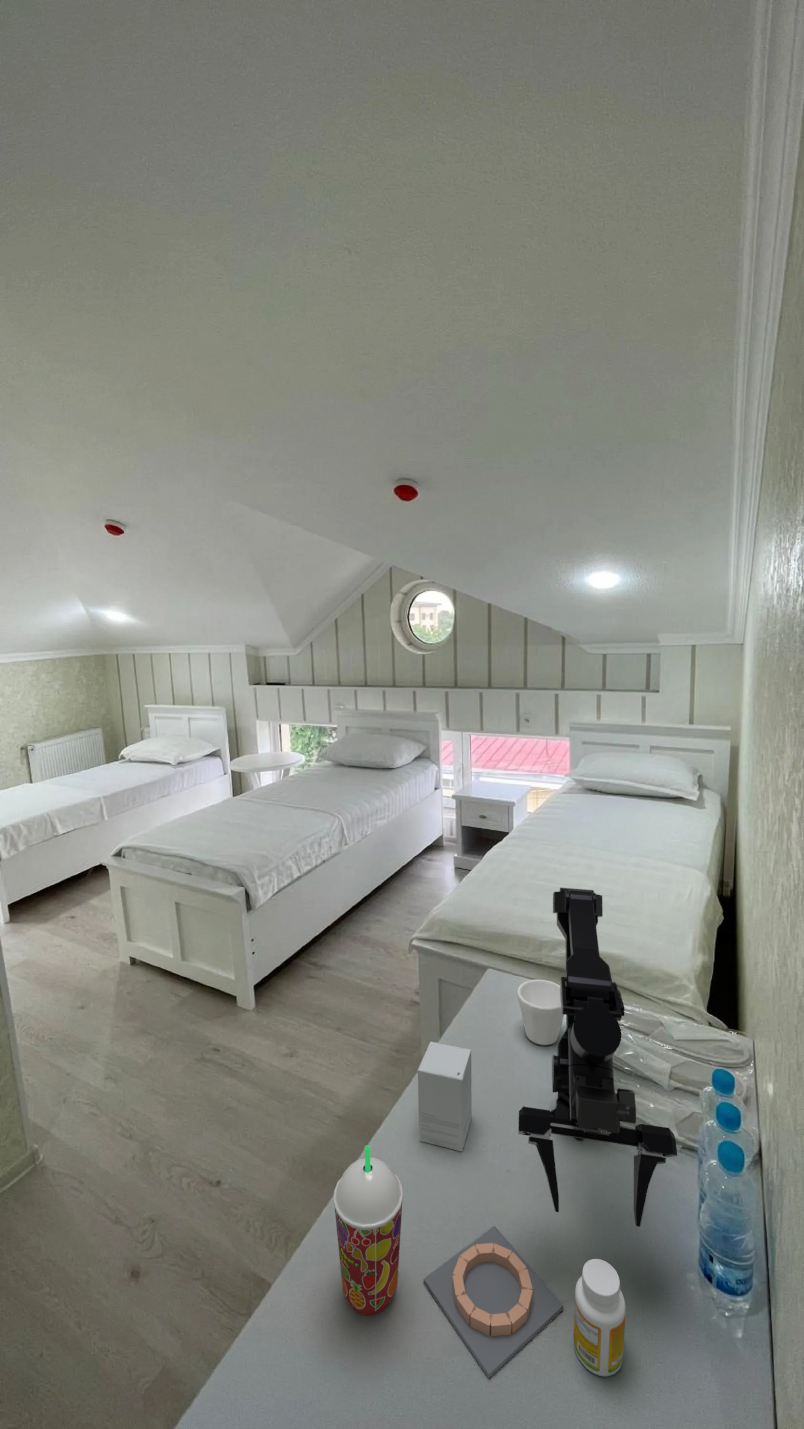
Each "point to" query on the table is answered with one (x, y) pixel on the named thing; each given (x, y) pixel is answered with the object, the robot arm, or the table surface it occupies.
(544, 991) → the cup
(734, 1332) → the table surface
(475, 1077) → the table surface
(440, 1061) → the supplement box
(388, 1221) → the smoothie
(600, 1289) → the supplement bottle
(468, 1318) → the ring seat
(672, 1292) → the table surface
